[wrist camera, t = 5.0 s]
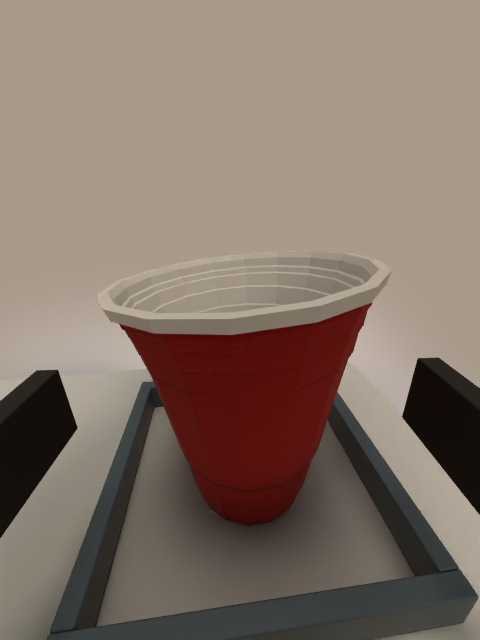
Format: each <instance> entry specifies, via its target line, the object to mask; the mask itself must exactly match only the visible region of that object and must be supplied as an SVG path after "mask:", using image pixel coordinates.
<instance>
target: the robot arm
mask: <svg viewBox="0 0 480 640" xmlns="http://www.w3.org/2000/svg"><path fill="white" fill-rule="evenodd" d="M402 417H403V419H404V420H405V421H406V423H407V424H408V425H409V426H410V428H411V429H412V430H413V431H414V433H415V434H416V435H417V436H418V438H419V439H420V440H421V441H422V443H423V444H424V445H425V447H426V448H427V449H428V450H429V452H430V453H431V454H432V455H433V457H434V458H435V459H436V460H437V462H438V463H439V464H440V465H441V467H442V468H443V469H444V470H445V472H446V473H447V474H448V476H449V477H450V478H451V479H452V481H453V482H454V483H455V484H456V486H457V487H458V488H459V489H460V491H461V492H462V493H463V494H464V496H465V497H466V498H467V499H468V501H469V502H470V503H471V505H472V506H473V507H474V508H475V510H476V511H477V512H478V513H479V515H480V388H479V387H477V386H476V385H474V384H473V383H472V382H470V381H469V380H468V379H466V378H465V377H464V376H462V375H461V374H460V373H458V372H457V371H456V370H454V369H453V368H452V367H450V366H449V365H448V364H446V363H445V362H444V361H442V360H441V359H440V358H418V360H417V364H416V367H415V371H414V375H413V378H412V382H411V386H410V390H409V394H408V397H407V401H406V405H405V409H404V412H403V416H402ZM76 430H77V425H76V422H75V419H74V416H73V413H72V410H71V407H70V404H69V401H68V398H67V395H66V392H65V390H64V387H63V384H62V381H61V378H60V375H59V372H58V370H40V371H36V372H34V373H33V374H32V375H31V376H30V377H28V378H27V379H26V380H25V381H24V382H22V383H21V384H20V385H19V386H18V387H16V388H15V389H14V390H13V391H12V392H11V393H9V394H8V395H7V396H6V397H5V398H3V399H2V400H1V401H0V538H1V537H2V535H3V534H4V532H5V531H6V529H7V528H8V527H9V525H10V524H11V522H12V521H13V519H14V518H15V517H16V515H17V514H18V512H19V511H20V509H21V508H22V507H23V505H24V504H25V502H26V501H27V499H28V498H29V497H30V495H31V494H32V492H33V491H34V489H35V488H36V487H37V485H38V484H39V482H40V481H41V480H42V478H43V477H44V475H45V474H46V472H47V471H48V470H49V468H50V467H51V465H52V464H53V462H54V461H55V460H56V458H57V457H58V455H59V454H60V452H61V451H62V450H63V448H64V447H65V445H66V444H67V442H68V441H69V440H70V438H71V437H72V435H73V434H74V432H75V431H76Z"/></svg>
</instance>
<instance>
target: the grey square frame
mask: <svg viewBox="0 0 480 640" xmlns="http://www.w3.org/2000/svg"><path fill="white" fill-rule="evenodd" d="M154 406H163V403H162V401H161V398H160V396H159V394H158V391H157V389H156V386H155V384H154V382H143V383H142V385H141V388H140V390H139V393H138V396H137V399H136V401H135V404H134V407H133V409H132V412H131V415H130V417H129V420H128V423H127V425H126V428H125V431H124V433H123V436H122V439H121V441H120V444H119V447H118V449H117V452H116V455H115V458H114V460H113V463H112V466H111V468H110V471H109V474H108V476H107V479H106V482H105V484H104V487H103V490H102V492H101V495H100V498H99V500H98V503H97V506H96V509H95V511H94V514H93V517H92V519H91V522H90V525H89V527H88V530H87V533H86V535H85V538H84V541H83V543H82V546H81V549H80V551H79V554H78V557H77V559H76V562H75V565H74V568H73V570H72V573H71V576H70V578H69V581H68V584H67V586H66V589H65V592H64V594H63V597H62V600H61V602H60V605H59V608H58V610H57V613H56V616H55V619H54V621H53V624H52V627H51V629H50V635H48V637H47V640H369V639H375V638H380V637H386V636H391V635H397V634H403V633H408V632H414V631H420V630H425V629H431V628H437V627H442V626H448V625H453V624H459V623H463V622H464V621H465V619H466V618H467V616H468V614H469V613H470V611H471V609H472V608H473V606H474V604H475V603H476V601H477V600H478V595H477V593H476V592H475V590H474V589H473V588H472V586H471V585H470V583H469V582H468V580H467V579H466V577H465V576H464V575H463V573H462V572H461V571H460V570H458V569H459V567H458V566H457V564H456V563H455V561H454V560H453V558H452V557H451V555H450V554H449V553H448V551H447V550H446V548H445V547H444V545H443V544H442V542H441V541H440V540H439V538H438V537H437V535H436V534H435V532H434V531H433V529H432V528H431V527H430V525H429V524H428V522H427V521H426V519H425V518H424V516H423V515H422V514H421V512H420V511H419V509H418V508H417V506H416V505H415V503H414V502H413V501H412V499H411V498H410V496H409V495H408V493H407V492H406V490H405V489H404V488H403V486H402V485H401V483H400V482H399V480H398V479H397V477H396V476H395V475H394V473H393V472H392V470H391V469H390V467H389V466H388V464H387V463H386V462H385V460H384V459H383V457H382V456H381V454H380V453H379V451H378V450H377V449H376V447H375V446H374V444H373V443H372V441H371V440H370V438H369V437H368V436H367V434H366V433H365V431H364V430H363V428H362V427H361V425H360V424H359V423H358V421H357V420H356V418H355V417H354V415H353V414H352V412H351V411H350V410H349V408H348V407H347V405H346V404H345V402H344V401H343V399H342V398H341V397H340V395H339V394H338V392H337V393H336V396H335V399H334V402H333V405H332V408H331V411H330V414H329V417H328V420H329V422H330V423H331V425H332V427H333V429H334V431H335V432H336V434H337V436H338V438H339V440H340V441H341V443H342V445H343V447H344V448H345V450H346V452H347V454H348V456H349V457H350V459H351V461H352V463H353V464H354V466H355V468H356V470H357V472H358V473H359V475H360V477H361V479H362V481H363V482H364V484H365V486H366V488H367V489H368V491H369V493H370V495H371V497H372V498H373V500H374V502H375V504H376V505H377V507H378V509H379V511H380V513H381V514H382V516H383V518H384V520H385V522H386V523H387V525H388V527H389V529H390V530H391V532H392V534H393V536H394V538H395V539H396V541H397V543H398V545H399V547H400V548H401V550H402V552H403V554H404V555H405V557H406V559H407V561H408V563H409V564H410V566H411V568H412V570H413V571H414V573H415V575H416V576H415V577H409V578H403V579H396V580H390V581H384V582H377V583H371V584H365V585H358V586H352V587H346V588H339V589H333V590H327V591H320V592H314V593H308V594H301V595H295V596H289V597H282V598H276V599H270V600H264V601H257V602H251V603H245V604H238V605H232V606H226V607H219V608H213V609H207V610H200V611H194V612H188V613H181V614H175V615H169V616H162V617H156V618H150V619H143V620H137V621H131V622H124V623H118V624H112V625H106V626H99V627H95V623H96V619H97V615H98V612H99V608H100V604H101V601H102V597H103V593H104V590H105V586H106V582H107V578H108V575H109V571H110V567H111V564H112V560H113V556H114V553H115V549H116V545H117V542H118V538H119V534H120V530H121V527H122V523H123V519H124V516H125V512H126V508H127V505H128V501H129V497H130V493H131V490H132V486H133V482H134V479H135V475H136V471H137V468H138V464H139V460H140V457H141V453H142V449H143V445H144V442H145V438H146V434H147V431H148V427H149V423H150V420H151V416H152V412H153V408H154Z"/></svg>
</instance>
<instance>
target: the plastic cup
mask: <svg viewBox="0 0 480 640" xmlns="http://www.w3.org/2000/svg"><path fill="white" fill-rule="evenodd" d="M391 271H392V270H391V269H390V268H389V267H387V266H386V265H384V264H383V263H382V262H381V261H380V260H378V259H375V258H370V257H365V256H361V255H356V254H351V253H341V252H326V251H325V252H324V251H275V252H260V253H245V254H237V255H229V256H221V257H212V258H206V259H200V260H194V261H188V262H183V263H177V264H173V265H168V266H164V267H160V268H156V269H153V270H148V271H145V272H141V273H138V274H135V275H133V276H130V277H127V278H125V279H122V280H119V281H117V282H114V283H113V284H111V285H110V286H109V287H107V288H106V289H105V290H103V291H102V292H101V293H99V294H98V295H97V298H98V300H99V302H100V305H101V307H102V309H103V311H104V312H105V314H106V315H107V317H108V318H109V320H110V321H111V322H115V323H118V324H119V325H120V326H121V328H122V329H123V330H125V332H126V333H127V335H128V337H129V338H130V339H131V341H132V343H133V344H134V346H135V348H136V350H137V351H138V353H139V355H140V356H141V358H142V360H143V362H144V364H145V365H146V367H147V369H148V371H149V373H150V374H151V377H152V379H153V381H154V384H155V386H156V389H157V391H158V394H159V396H160V398H161V401H162V403H163V406H164V408H165V411H166V413H167V415H168V418H169V420H170V423H171V425H172V428H173V430H174V432H175V435H176V437H177V440H178V442H179V445H180V447H181V449H182V451H183V453H184V455H185V457H186V459H187V461H188V463H189V465H190V468H191V470H192V473H193V476H194V478H195V481H196V483H197V485H198V487H199V489H200V491H201V493H202V495H203V497H204V499H205V501H206V502H207V503H208V505H209V506H210V507H211V508H212V509H213V510H215V511H216V512H217V513H218V514H220V515H221V516H222V517H223V518H225V519H226V520H229V521H233V522H237V523H241V524H245V525H253V524H258V523H264V522H269V521H272V520H273V519H275V518H276V517H278V516H279V515H280V514H282V513H283V512H285V511H286V510H288V509H289V507H290V506H291V504H292V503H293V502H294V500H295V498H296V496H297V494H298V493H299V491H300V489H301V487H302V485H303V483H304V480H305V477H306V474H307V471H308V468H309V466H310V463H311V460H312V458H313V456H314V455H315V453H316V451H317V449H318V446H319V443H320V440H321V437H322V434H323V432H324V429H325V426H326V423H327V420H328V417H329V414H330V411H331V408H332V405H333V402H334V399H335V396H336V393H337V390H338V387H339V384H340V381H341V378H342V375H343V373H344V370H345V367H346V364H347V361H348V358H349V357H350V355H351V354H352V352H353V350H354V346H355V343H356V340H357V336H358V333H359V331H360V329H361V328H362V326H363V325H364V321H365V317H366V313H367V310H368V309H369V307H370V306H371V305H372V301H373V300H374V299H375V298H376V296H377V295H378V294H379V293H380V291H381V290H382V289H383V288H384V286H385V285H386V284H387V281H388V279H389V276H390V273H391Z"/></svg>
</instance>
